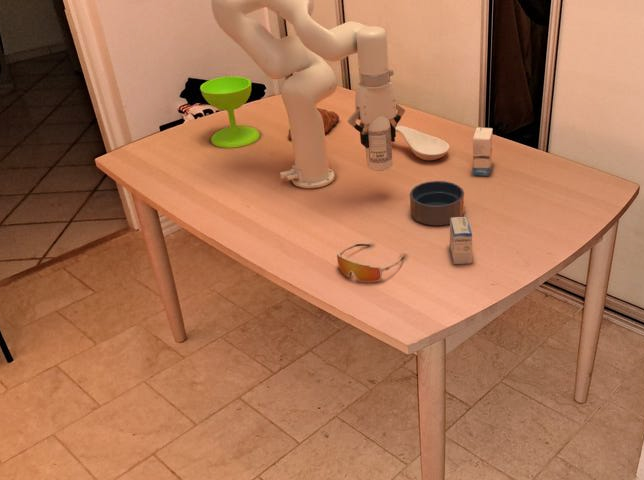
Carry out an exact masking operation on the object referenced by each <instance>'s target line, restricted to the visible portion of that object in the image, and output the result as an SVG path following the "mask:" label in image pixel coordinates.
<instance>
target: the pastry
mask: <svg viewBox="0 0 644 480" xmlns="http://www.w3.org/2000/svg"><path fill="white" fill-rule="evenodd" d="M317 109H318V111H319V113H320V114H321V116H322V119H323V123H324V132H325V135H326V134H327V133H328V132H330V131H331V130H332V128H333V127H335V126H336V124H337V123H338V122H339V120H340V115H338V114H337V112H335V111H333V110H327V109H325V108H319V107H317ZM288 138H289V139H290V140H291V141H292V139H291V132H290V128H289V129H288Z"/></svg>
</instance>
